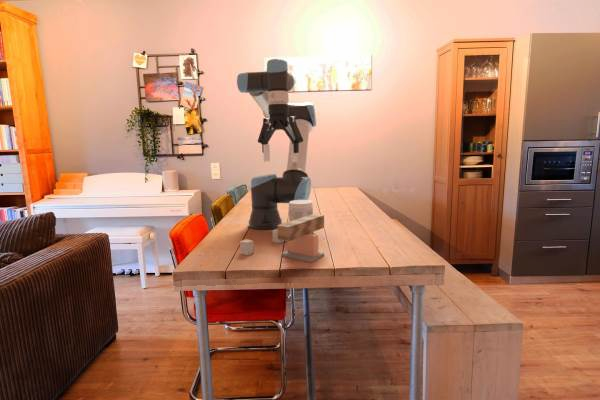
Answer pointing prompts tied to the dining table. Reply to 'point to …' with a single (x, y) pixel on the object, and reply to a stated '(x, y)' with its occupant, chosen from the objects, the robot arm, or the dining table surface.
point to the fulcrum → (304, 248)
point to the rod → (300, 227)
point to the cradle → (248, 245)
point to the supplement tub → (300, 209)
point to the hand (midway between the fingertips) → (280, 161)
